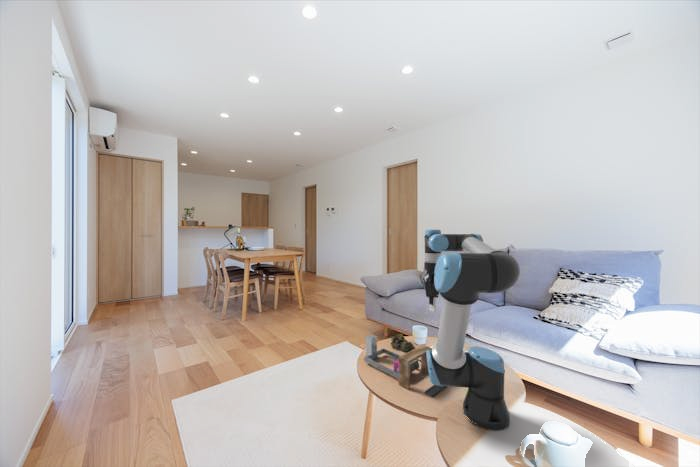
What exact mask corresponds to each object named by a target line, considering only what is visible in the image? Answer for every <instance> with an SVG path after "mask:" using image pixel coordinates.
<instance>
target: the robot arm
mask: <svg viewBox="0 0 700 467" xmlns="http://www.w3.org/2000/svg"><path fill="white" fill-rule="evenodd" d="M423 238H424V261H425V262H424V270H425V271H426V276H425V277H423V279H422V281H423V283H424V289H425V296H426V298H428V305H429V306H428V307H429V308H428V311H430V312H433V313H435V312H437V299H438V298H439V295H440V297H441V298H442V300H441V309H440V315H439V316H440V318H439V327H438V334H437V340H436V342H435V343H434V344H433V345H432V347H431V348H432V350H428V351H426V357H427V365H428V372H429V374H428V378H429V381H430V383H431V385H432V386H433V385H438V386H447V387H451V388H452V387H453V388H467V391H466V394H465V397H464V400H463V402H462V411H463V410H464V412H463V414H464V413H465V414H464V416H465V415H466V416H467V417H468V418H469V419H470V420H471V421H473V422H474V423H476V424H477V425H476V424H475V425H476V426H477V427H480V428H483V429H486V430H491V431H501V430H505V429H508V427H509V426H510V424H511V423H510V421H511V420H510V417H511V415H510V413H509V412H510V411H509V410H508V409H509V408H508V406H507V403H506V400H505V372H506V370H505V361H504V358H503V357H502V356H501V355H500V354H499V353H497V352H496V351H493V350H491V349H489V348H486V347H483V346H477V345H472V346H469V348H468V350H467V351H464V345H465V341H466V337H467V333H468V332H467V330H468V324H469V319H470V315H471V309H472V305H474V304H476V303H477V301H478V300H479V298H480V294H497V293H503V292H506V291H507V290H510V289H511V288H512V287H513V286H514V285H516V283H517V281H518V280H519V277H520V273H521V269H520V264H519V263H518V261H517V260H516V259H515V257H514V256H512V255H511V254H509V253H508V252H506V251H503V250H496V249H495V248H493V247H492V246H490V245H489V244H486V243H485V242H484V238H483V237H482V235H481V234H477V233H465V234H464V233H463V234H461V233H457V234H456V233H442V231H441V229H426V230H424V235H423ZM442 252H449V253H443V254H442ZM461 252H463V253H461ZM466 416H465V417H466ZM467 417H466V418H467ZM468 418H467V419H468ZM469 419H468V420H469ZM470 420H469V421H470ZM471 421H470V422H471ZM473 422H472V423H473ZM474 423H473V424H474Z"/></svg>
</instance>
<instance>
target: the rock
mask: <svg viewBox="0 0 700 467" xmlns="http://www.w3.org/2000/svg"><path fill="white" fill-rule="evenodd" d="M390 340H391V342H390V345H391V347H392V348H393V349H396V350H399V351H400V352H409V351H411V350H413V349H415V348H416V347H415V346H414V344H413V343H412V342H411V341H408V340H407V339H406V338H405V337H404V334H403V333H397V334H396V333H395V334H394V336H391V339H390Z"/></svg>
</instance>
